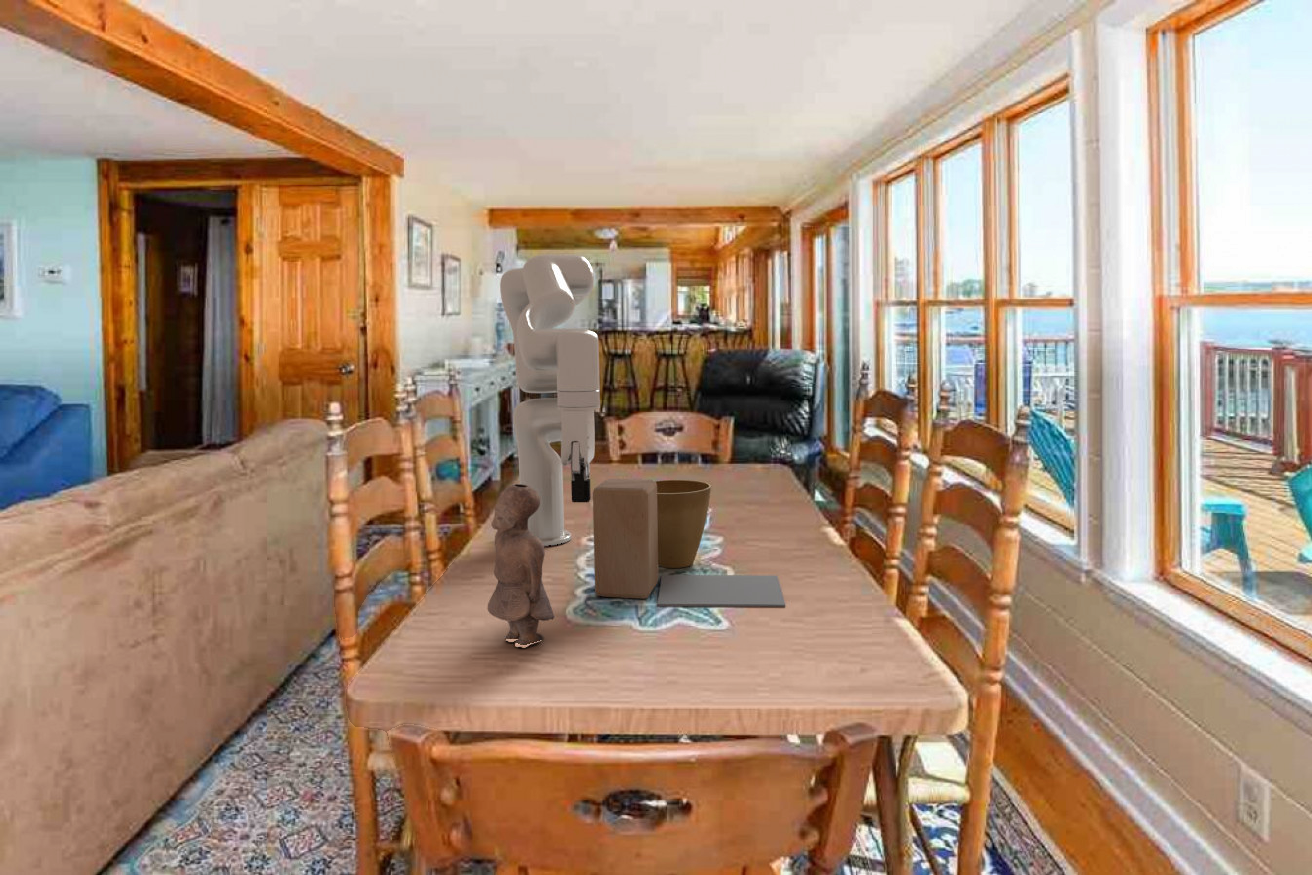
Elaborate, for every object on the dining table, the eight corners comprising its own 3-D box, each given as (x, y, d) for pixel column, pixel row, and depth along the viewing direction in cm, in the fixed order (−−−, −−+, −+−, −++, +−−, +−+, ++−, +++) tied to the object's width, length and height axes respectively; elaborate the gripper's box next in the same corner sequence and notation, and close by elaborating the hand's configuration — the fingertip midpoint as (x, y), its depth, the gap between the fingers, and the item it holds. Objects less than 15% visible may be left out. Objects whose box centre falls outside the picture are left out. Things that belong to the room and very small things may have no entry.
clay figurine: (474, 638, 142) (468, 482, 139) (530, 624, 148) (525, 474, 145) (515, 662, 132) (509, 495, 128) (572, 646, 138) (568, 486, 134)
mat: (657, 605, 156) (657, 603, 156) (662, 576, 173) (662, 574, 173) (785, 606, 155) (785, 604, 155) (777, 577, 172) (777, 575, 172)
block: (648, 600, 159) (646, 489, 156) (593, 597, 161) (591, 488, 158) (659, 583, 169) (658, 478, 166) (607, 581, 171) (605, 477, 168)
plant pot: (719, 556, 187) (719, 480, 185) (699, 576, 173) (698, 495, 171) (651, 550, 192) (650, 476, 189) (626, 570, 178) (625, 490, 176)
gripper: (564, 396, 168) (567, 493, 171) (550, 404, 153) (553, 510, 156) (604, 396, 168) (606, 493, 170) (593, 404, 153) (596, 510, 155)
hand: (581, 501), depth 163 cm, fingers closed
